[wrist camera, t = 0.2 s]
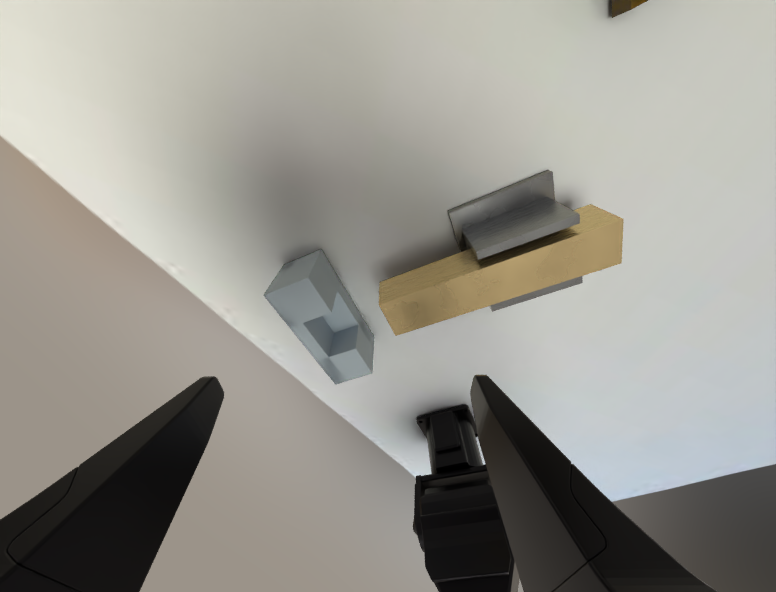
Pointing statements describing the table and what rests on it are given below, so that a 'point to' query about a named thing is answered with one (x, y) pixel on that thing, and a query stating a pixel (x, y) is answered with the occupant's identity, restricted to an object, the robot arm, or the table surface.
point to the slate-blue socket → (323, 316)
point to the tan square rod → (501, 272)
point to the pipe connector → (624, 6)
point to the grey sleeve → (513, 223)
